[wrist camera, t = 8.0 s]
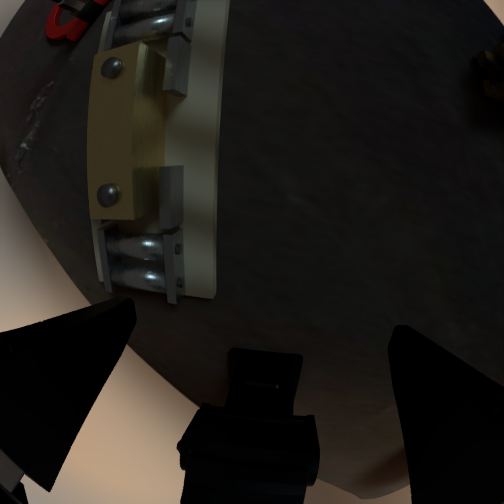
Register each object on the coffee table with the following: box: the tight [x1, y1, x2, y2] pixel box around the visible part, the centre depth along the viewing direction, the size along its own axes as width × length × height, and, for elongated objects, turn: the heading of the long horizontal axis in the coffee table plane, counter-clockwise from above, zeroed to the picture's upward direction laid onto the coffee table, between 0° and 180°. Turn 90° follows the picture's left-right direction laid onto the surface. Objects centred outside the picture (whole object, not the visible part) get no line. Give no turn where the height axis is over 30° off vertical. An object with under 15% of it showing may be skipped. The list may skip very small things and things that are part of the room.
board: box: [91, 0, 230, 299], centre depth 18 cm, size 25×11×1 cm, turn 177°
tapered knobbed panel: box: [87, 41, 167, 220], centre depth 15 cm, size 11×4×5 cm, turn 178°
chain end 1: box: [103, 0, 198, 97], centre depth 14 cm, size 10×7×2 cm
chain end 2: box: [93, 165, 186, 304], centre depth 19 cm, size 10×7×2 cm
